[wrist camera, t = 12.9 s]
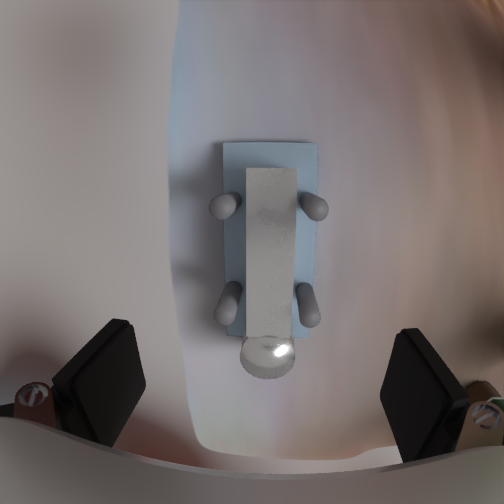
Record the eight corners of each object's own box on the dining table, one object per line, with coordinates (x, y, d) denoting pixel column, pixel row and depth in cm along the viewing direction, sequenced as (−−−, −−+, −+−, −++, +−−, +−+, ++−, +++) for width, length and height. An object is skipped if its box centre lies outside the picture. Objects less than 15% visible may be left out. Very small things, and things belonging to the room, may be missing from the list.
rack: (225, 144, 25) (208, 134, 19) (316, 145, 24) (329, 135, 18) (228, 329, 30) (217, 368, 23) (307, 331, 29) (314, 371, 23)
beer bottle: (458, 385, 30) (532, 511, 7) (495, 372, 29) (572, 476, 6) (443, 422, 32) (496, 539, 9) (480, 409, 31) (538, 510, 8)
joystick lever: (244, 169, 24) (238, 167, 20) (299, 169, 24) (305, 168, 20) (245, 350, 29) (240, 377, 24) (291, 351, 28) (292, 379, 24)
